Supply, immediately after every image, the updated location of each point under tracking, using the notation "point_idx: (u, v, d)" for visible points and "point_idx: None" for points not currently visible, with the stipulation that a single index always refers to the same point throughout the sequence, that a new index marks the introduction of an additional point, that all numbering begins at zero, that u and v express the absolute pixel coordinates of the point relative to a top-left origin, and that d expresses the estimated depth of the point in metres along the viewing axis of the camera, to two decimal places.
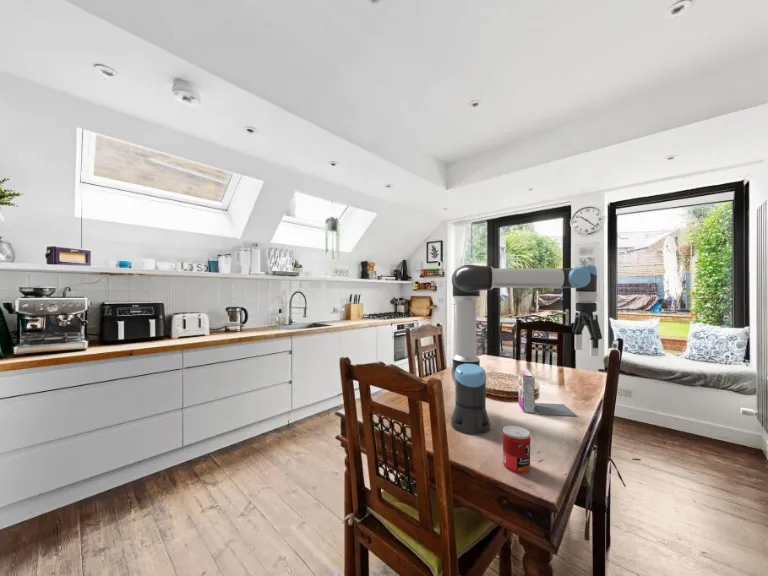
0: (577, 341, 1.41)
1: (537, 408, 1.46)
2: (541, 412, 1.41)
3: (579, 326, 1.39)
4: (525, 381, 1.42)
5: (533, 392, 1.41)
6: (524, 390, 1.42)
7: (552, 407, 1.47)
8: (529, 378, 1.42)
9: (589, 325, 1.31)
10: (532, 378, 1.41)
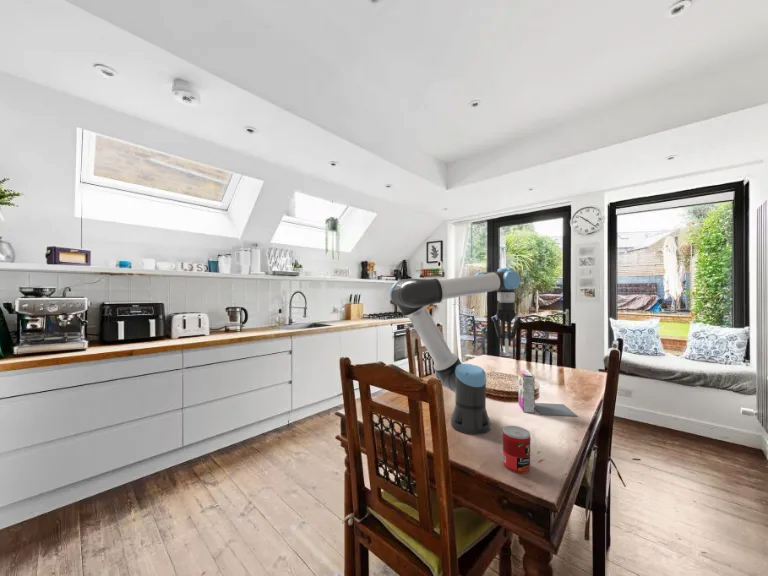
0: None
1: (537, 408, 1.46)
2: (541, 412, 1.41)
3: (507, 326, 1.49)
4: (525, 381, 1.42)
5: (533, 392, 1.41)
6: (524, 390, 1.42)
7: (552, 407, 1.47)
8: (529, 378, 1.42)
9: (501, 324, 1.49)
10: (532, 378, 1.41)
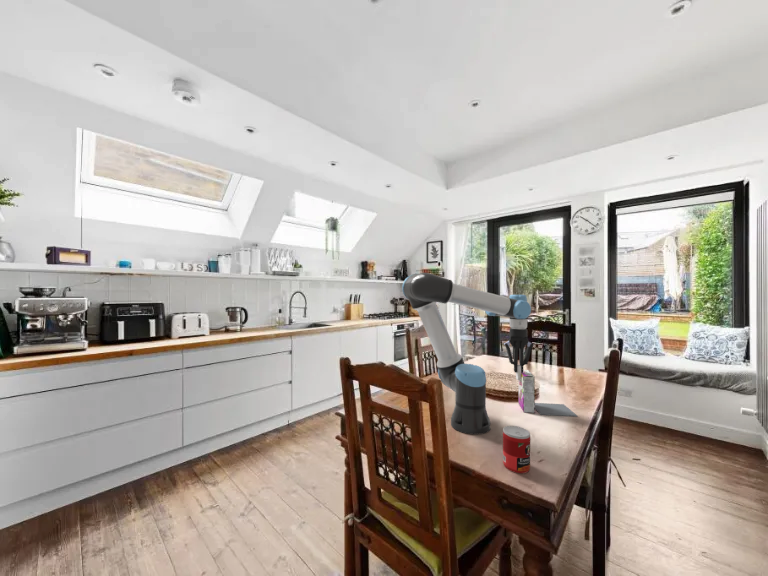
0: None
1: (537, 408, 1.46)
2: (541, 412, 1.41)
3: (519, 353, 1.48)
4: (525, 381, 1.42)
5: (533, 392, 1.41)
6: (524, 390, 1.42)
7: (552, 407, 1.47)
8: (529, 378, 1.42)
9: None
10: (532, 378, 1.41)
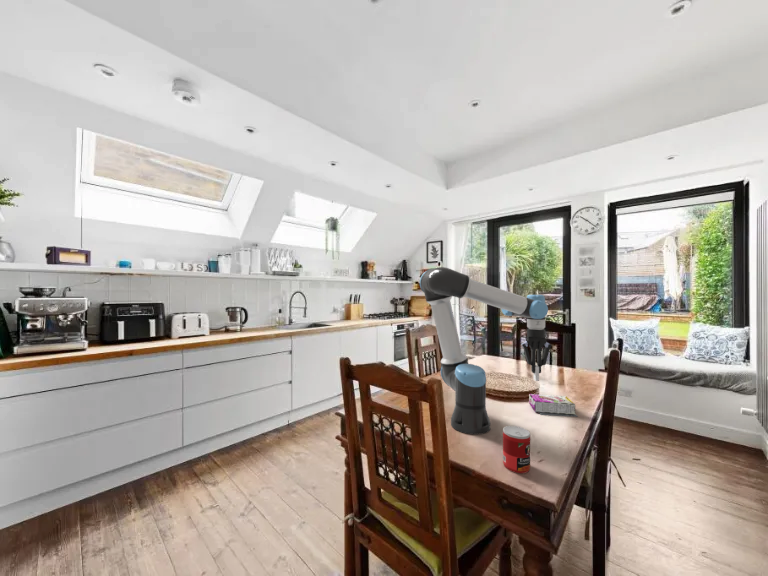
0: None
1: None
2: (541, 412, 1.41)
3: (537, 353, 1.47)
4: (569, 405, 1.39)
5: (557, 412, 1.40)
6: (559, 404, 1.40)
7: None
8: (572, 409, 1.38)
9: (531, 351, 1.48)
10: (573, 412, 1.38)
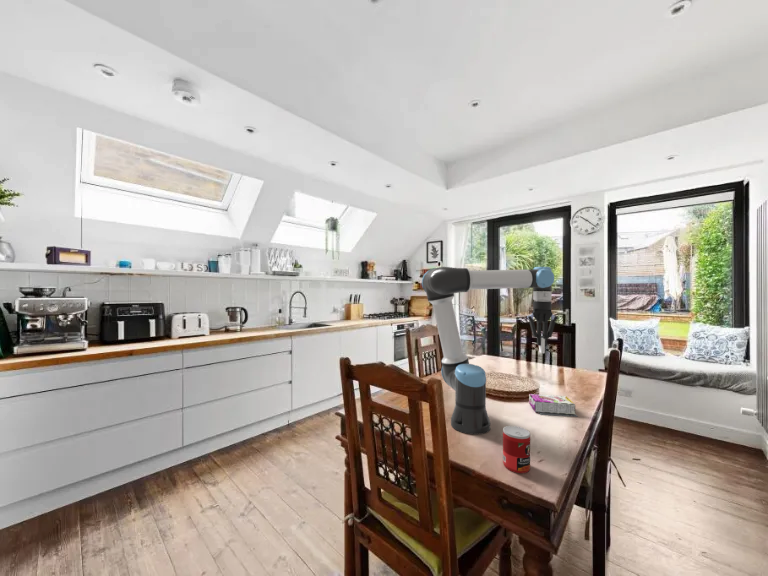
0: None
1: None
2: (541, 412, 1.41)
3: (543, 326, 1.47)
4: (569, 405, 1.39)
5: (557, 412, 1.40)
6: (559, 404, 1.40)
7: None
8: (572, 409, 1.38)
9: (537, 324, 1.47)
10: (573, 412, 1.38)
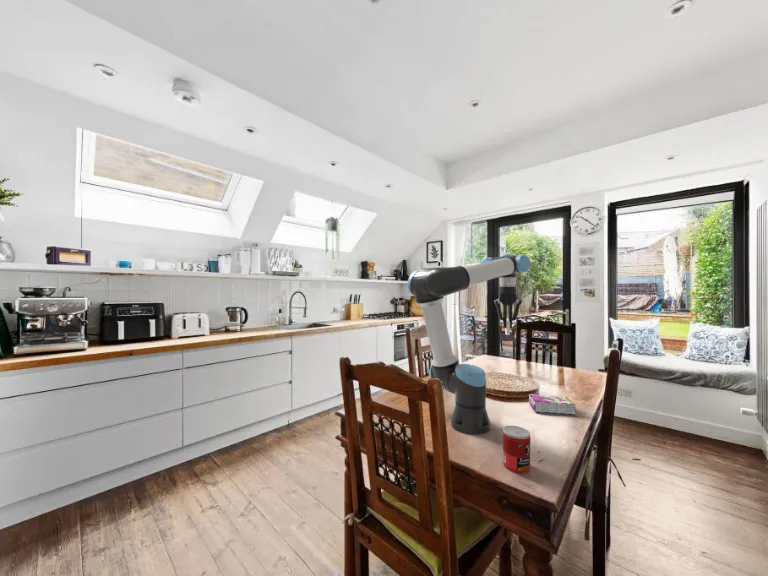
0: None
1: None
2: (541, 412, 1.41)
3: (508, 309, 1.58)
4: (569, 405, 1.39)
5: (557, 412, 1.40)
6: (559, 404, 1.40)
7: None
8: (572, 409, 1.38)
9: (503, 308, 1.58)
10: (573, 412, 1.38)
